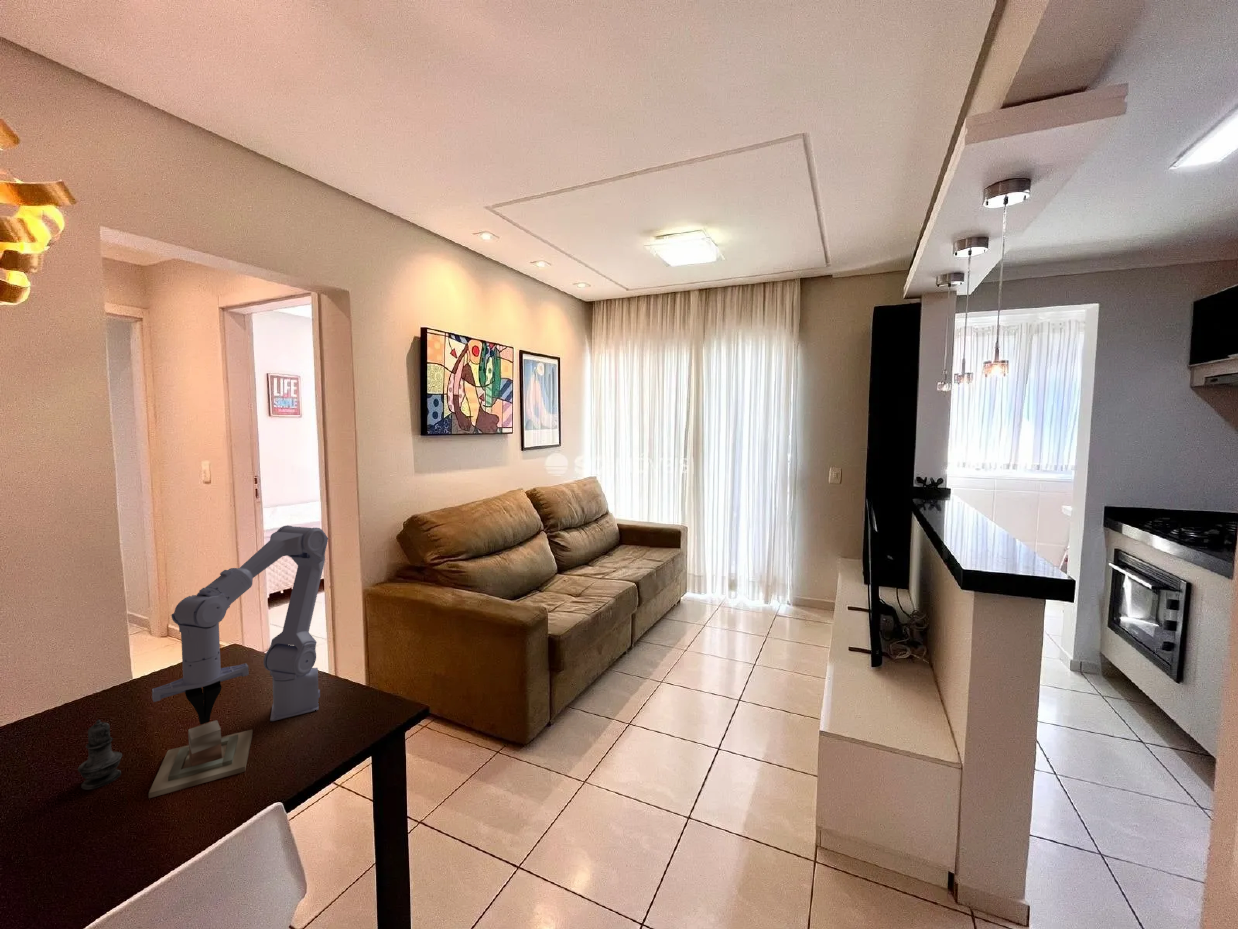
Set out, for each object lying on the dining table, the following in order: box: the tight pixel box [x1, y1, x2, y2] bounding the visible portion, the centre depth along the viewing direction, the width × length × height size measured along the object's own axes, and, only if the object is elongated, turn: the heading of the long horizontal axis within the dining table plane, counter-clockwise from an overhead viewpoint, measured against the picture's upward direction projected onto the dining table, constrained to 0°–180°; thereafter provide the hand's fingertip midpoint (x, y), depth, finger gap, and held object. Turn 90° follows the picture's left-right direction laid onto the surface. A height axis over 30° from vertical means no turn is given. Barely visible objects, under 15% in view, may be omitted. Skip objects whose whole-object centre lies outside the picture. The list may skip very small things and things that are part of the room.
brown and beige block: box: [187, 719, 222, 766], centre depth 98 cm, size 4×4×6 cm
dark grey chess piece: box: [77, 718, 123, 791], centre depth 93 cm, size 6×6×12 cm
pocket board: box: [148, 729, 254, 799], centre depth 99 cm, size 14×14×2 cm
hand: (204, 721), depth 98 cm, fingers closed
